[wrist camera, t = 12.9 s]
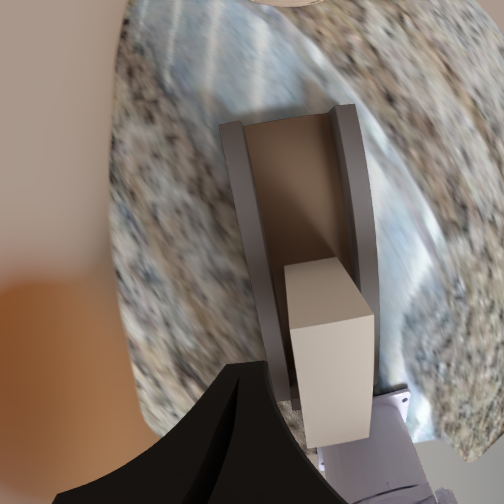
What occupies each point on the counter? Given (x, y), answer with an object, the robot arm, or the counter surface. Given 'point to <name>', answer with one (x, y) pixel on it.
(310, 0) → the teacup with lid
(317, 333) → the beige rectangular block
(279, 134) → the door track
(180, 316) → the counter surface
